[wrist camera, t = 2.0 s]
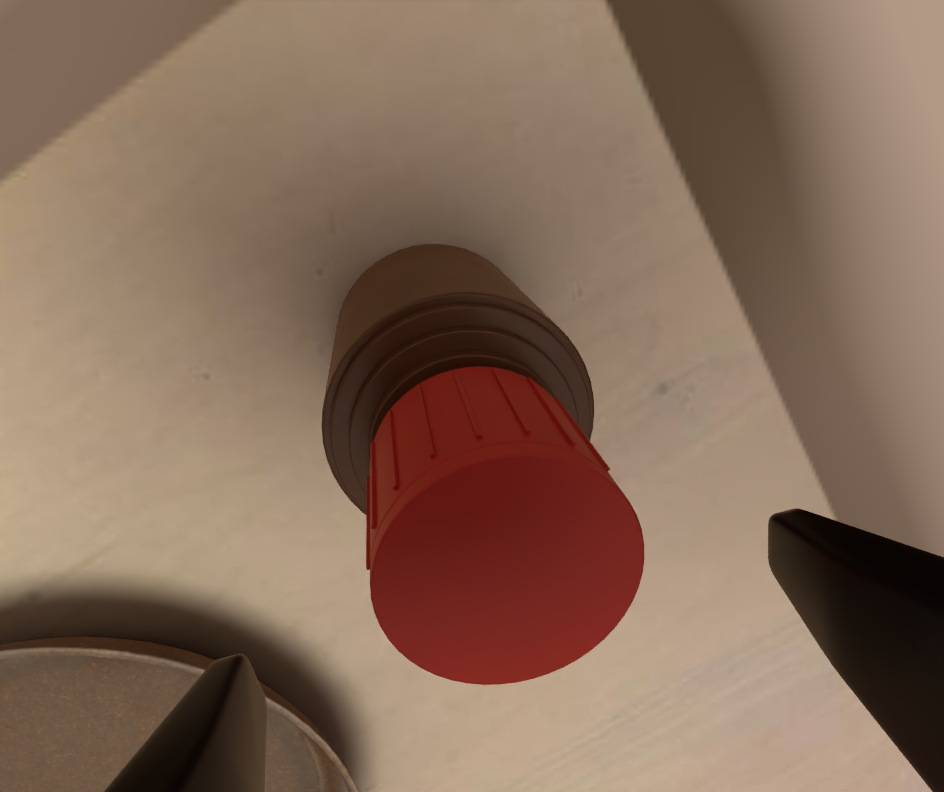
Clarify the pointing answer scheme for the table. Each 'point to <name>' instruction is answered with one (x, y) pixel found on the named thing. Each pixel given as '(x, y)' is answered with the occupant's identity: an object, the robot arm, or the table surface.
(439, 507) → the cap
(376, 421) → the bottle
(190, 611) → the table surface
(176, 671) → the plant saucer
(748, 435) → the table surface
